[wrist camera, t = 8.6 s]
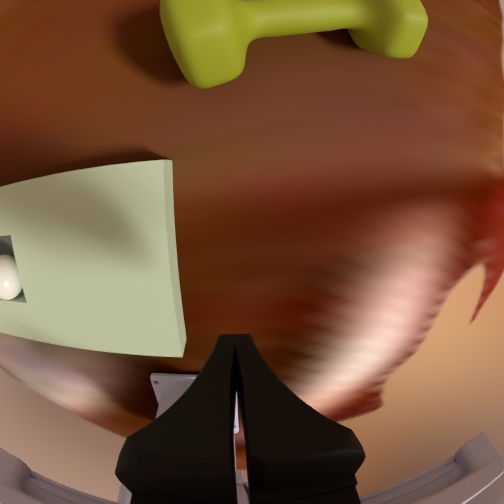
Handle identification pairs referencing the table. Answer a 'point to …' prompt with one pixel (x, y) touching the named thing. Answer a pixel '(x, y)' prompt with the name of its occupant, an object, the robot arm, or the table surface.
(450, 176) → the table surface
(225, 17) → the dumbbell
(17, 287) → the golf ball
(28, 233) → the pale green box
